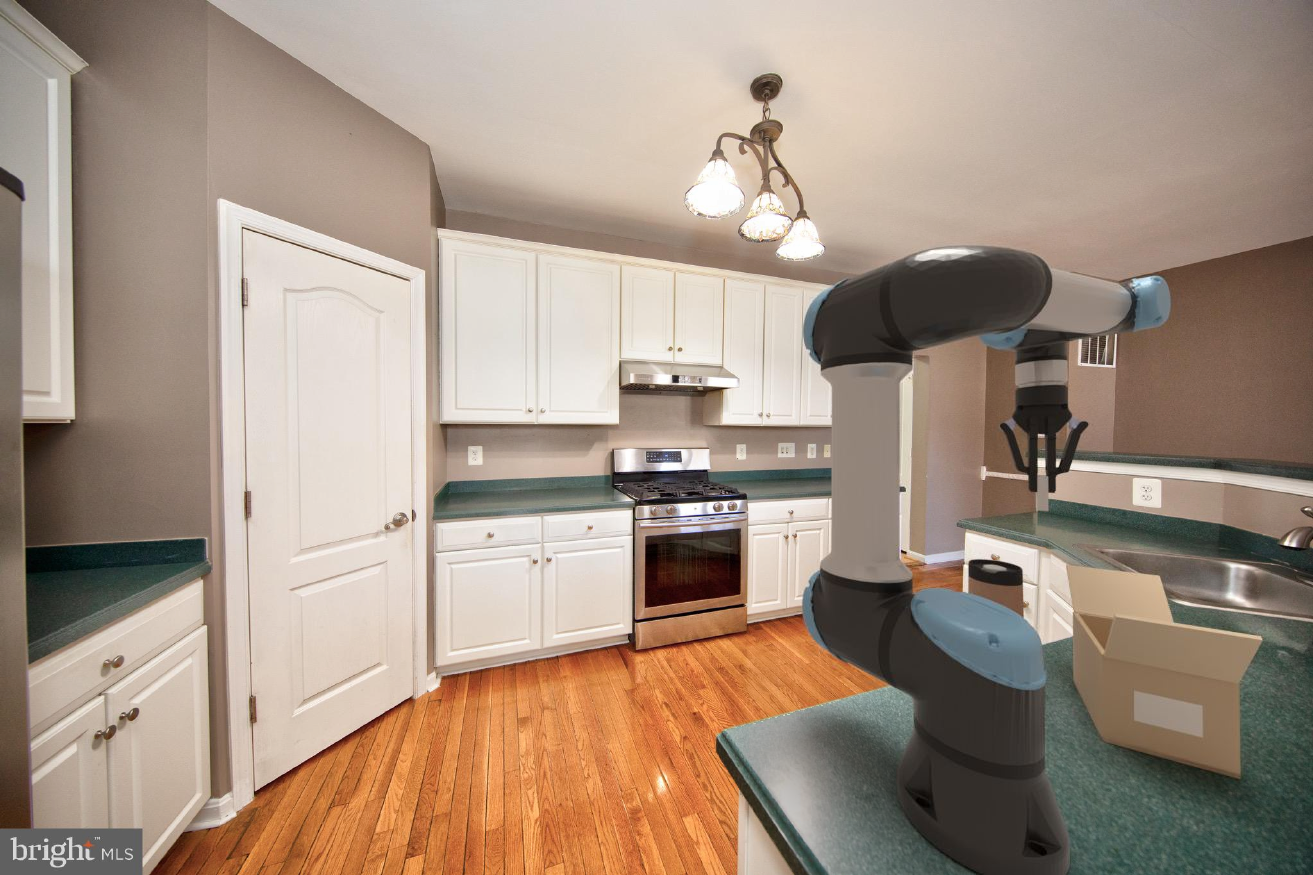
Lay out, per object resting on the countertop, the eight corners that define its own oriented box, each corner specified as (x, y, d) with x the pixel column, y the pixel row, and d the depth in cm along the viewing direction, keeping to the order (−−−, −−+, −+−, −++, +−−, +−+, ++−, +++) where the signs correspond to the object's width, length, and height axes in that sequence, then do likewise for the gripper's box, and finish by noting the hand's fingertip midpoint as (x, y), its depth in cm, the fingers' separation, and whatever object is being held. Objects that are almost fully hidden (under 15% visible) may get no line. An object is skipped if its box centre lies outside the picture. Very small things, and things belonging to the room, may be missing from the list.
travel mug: (1004, 669, 79) (1003, 559, 79) (1036, 694, 71) (1035, 572, 71) (959, 667, 79) (958, 558, 80) (986, 691, 72) (985, 570, 72)
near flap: (1236, 679, 53) (1238, 683, 53) (1103, 653, 60) (1104, 657, 60) (1260, 636, 49) (1262, 640, 49) (1114, 613, 56) (1115, 616, 55)
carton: (1241, 779, 53) (1239, 681, 53) (1103, 741, 60) (1102, 654, 60) (1178, 705, 68) (1177, 628, 68) (1073, 681, 75) (1072, 611, 75)
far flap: (1074, 611, 75) (1073, 612, 75) (1175, 627, 68) (1174, 628, 68) (1066, 564, 80) (1065, 566, 80) (1159, 575, 73) (1158, 577, 74)
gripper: (1083, 385, 82) (1084, 510, 82) (995, 390, 89) (996, 504, 89) (1093, 380, 76) (1095, 515, 76) (998, 386, 83) (1000, 509, 83)
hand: (1042, 509), depth 82 cm, fingers closed
